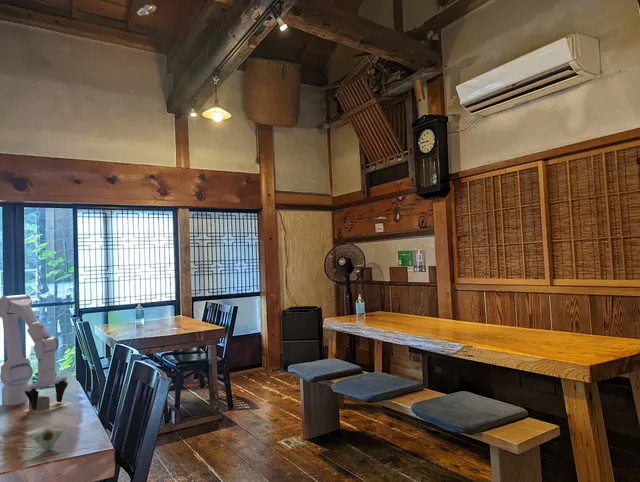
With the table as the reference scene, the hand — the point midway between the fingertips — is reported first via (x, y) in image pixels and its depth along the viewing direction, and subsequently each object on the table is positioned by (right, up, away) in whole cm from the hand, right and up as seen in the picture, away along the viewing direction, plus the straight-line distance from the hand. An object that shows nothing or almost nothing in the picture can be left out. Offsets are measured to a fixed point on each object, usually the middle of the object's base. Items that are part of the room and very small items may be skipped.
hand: (47, 405), depth 172 cm
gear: (-23, -5, +36) cm, 43 cm away
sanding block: (-1, -1, -3) cm, 3 cm away
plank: (0, -2, 0) cm, 2 cm away
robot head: (+24, +1, -40) cm, 47 cm away
